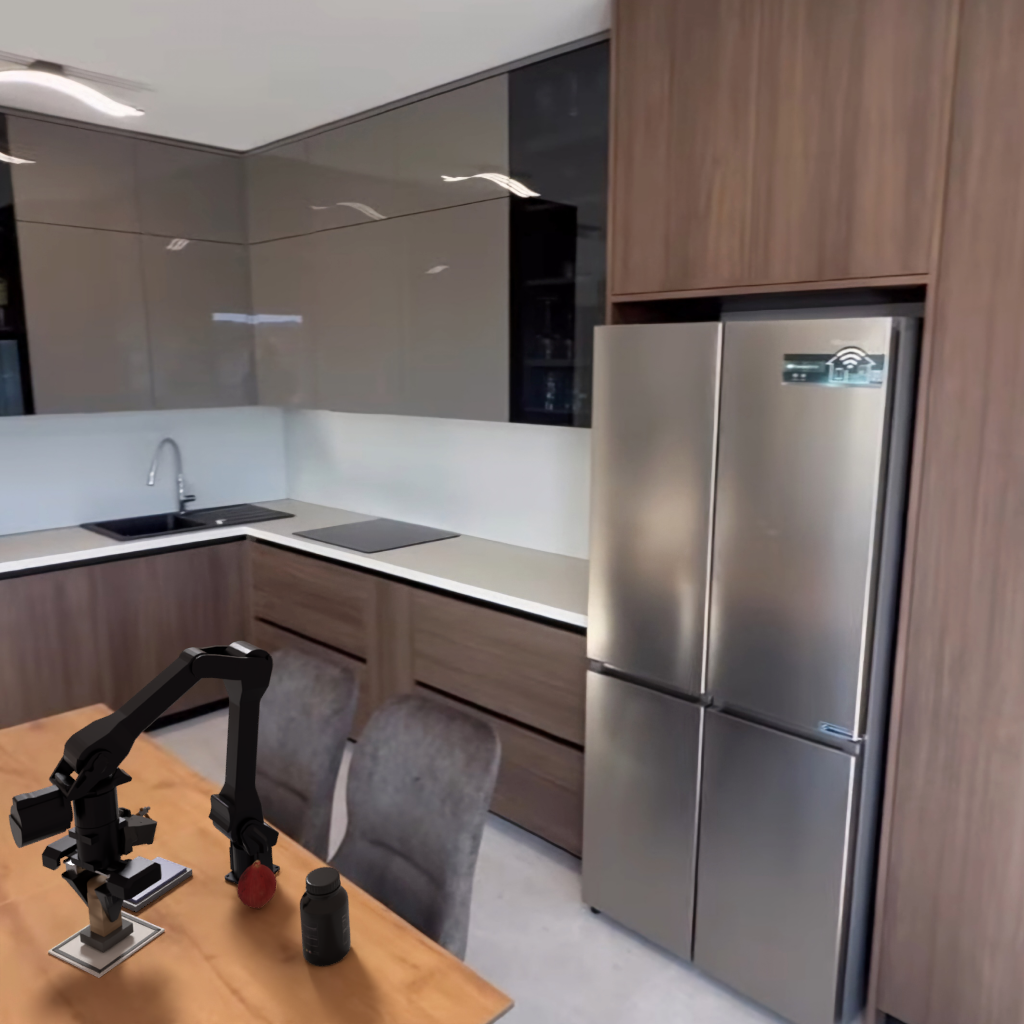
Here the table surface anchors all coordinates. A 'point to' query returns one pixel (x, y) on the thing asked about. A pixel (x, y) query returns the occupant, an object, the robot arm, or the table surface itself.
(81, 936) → the stamp
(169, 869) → the ink pad
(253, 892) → the onion
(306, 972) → the table surface
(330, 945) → the supplement bottle
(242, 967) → the table surface
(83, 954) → the marked card
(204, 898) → the table surface
